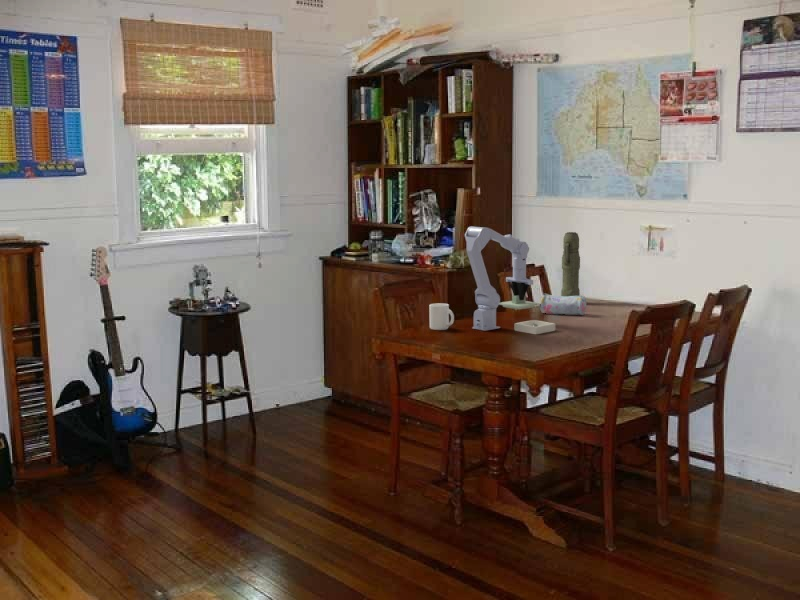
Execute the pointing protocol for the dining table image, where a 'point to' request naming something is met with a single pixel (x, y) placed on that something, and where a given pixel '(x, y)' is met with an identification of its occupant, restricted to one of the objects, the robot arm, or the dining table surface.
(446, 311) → the mug
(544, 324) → the box
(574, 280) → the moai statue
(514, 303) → the lid
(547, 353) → the dining table surface
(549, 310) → the pencil case
